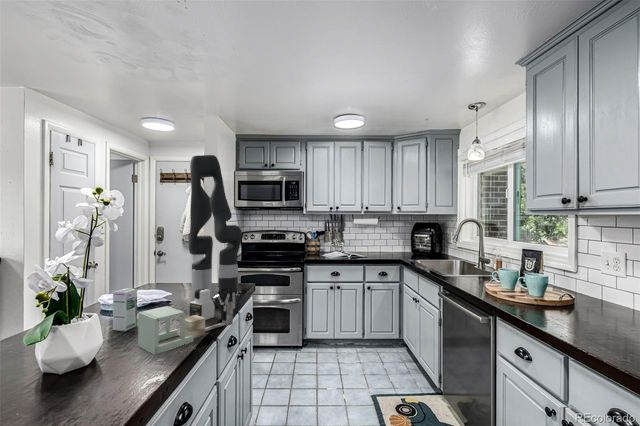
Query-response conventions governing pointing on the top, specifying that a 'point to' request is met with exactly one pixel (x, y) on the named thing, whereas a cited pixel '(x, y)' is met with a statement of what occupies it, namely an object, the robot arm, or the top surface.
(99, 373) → the top surface
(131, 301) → the syrup box
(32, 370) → the top surface
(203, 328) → the towed block
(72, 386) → the top surface
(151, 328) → the green windowed box
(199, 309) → the medicine bottle
